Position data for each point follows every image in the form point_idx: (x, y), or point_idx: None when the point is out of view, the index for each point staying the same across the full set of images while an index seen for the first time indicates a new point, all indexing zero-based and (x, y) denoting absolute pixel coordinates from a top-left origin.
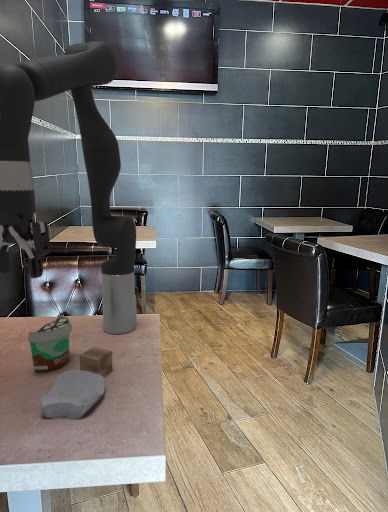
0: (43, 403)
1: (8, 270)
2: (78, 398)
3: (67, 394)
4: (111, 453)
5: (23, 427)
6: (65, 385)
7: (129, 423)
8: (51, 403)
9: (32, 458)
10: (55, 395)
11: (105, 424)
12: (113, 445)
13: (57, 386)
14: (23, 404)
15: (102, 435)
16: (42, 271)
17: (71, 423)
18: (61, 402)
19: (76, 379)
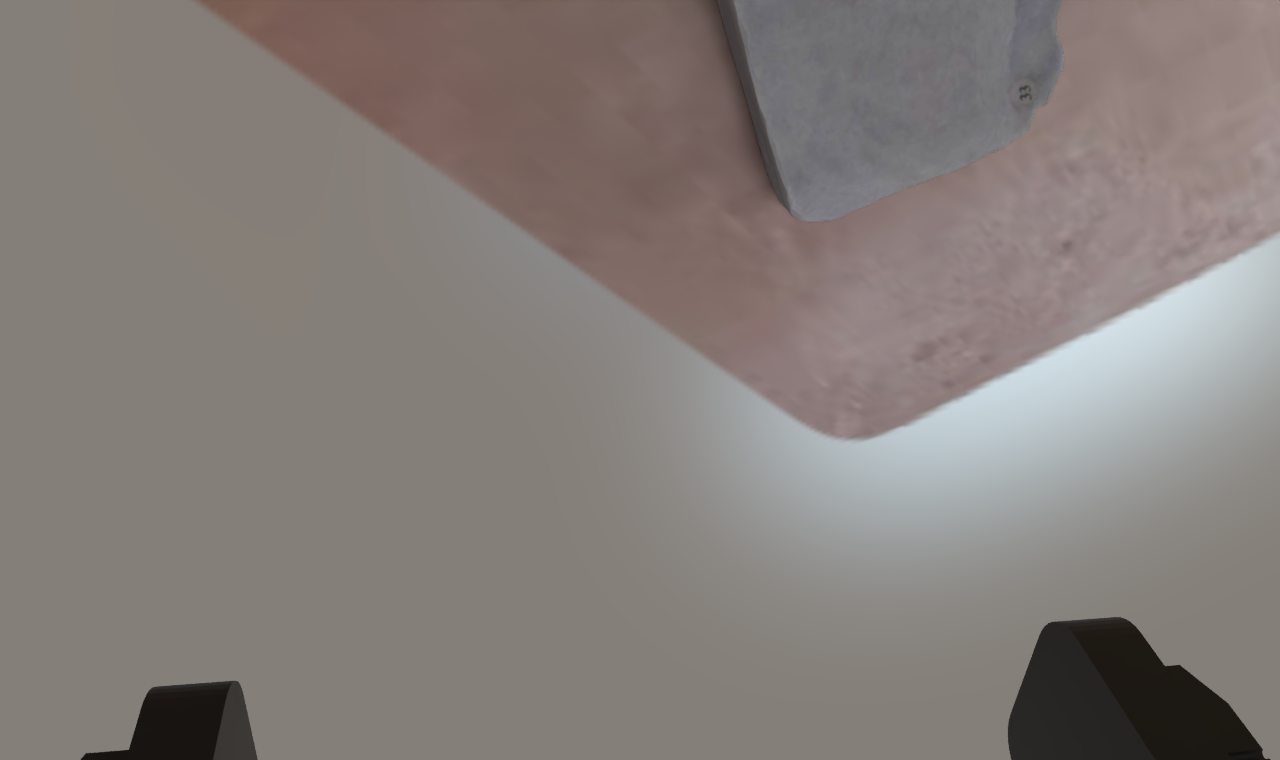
0: (812, 218)
1: (236, 717)
2: (986, 98)
3: (908, 107)
4: (1227, 238)
5: (748, 287)
6: (841, 38)
7: (1255, 28)
8: (862, 205)
9: (926, 393)
10: (845, 149)
11: (1133, 91)
12: (1221, 196)
13: (790, 64)
14: (587, 153)
15: (1149, 165)
16: (1221, 716)
17: None
18: (919, 182)
19: None
